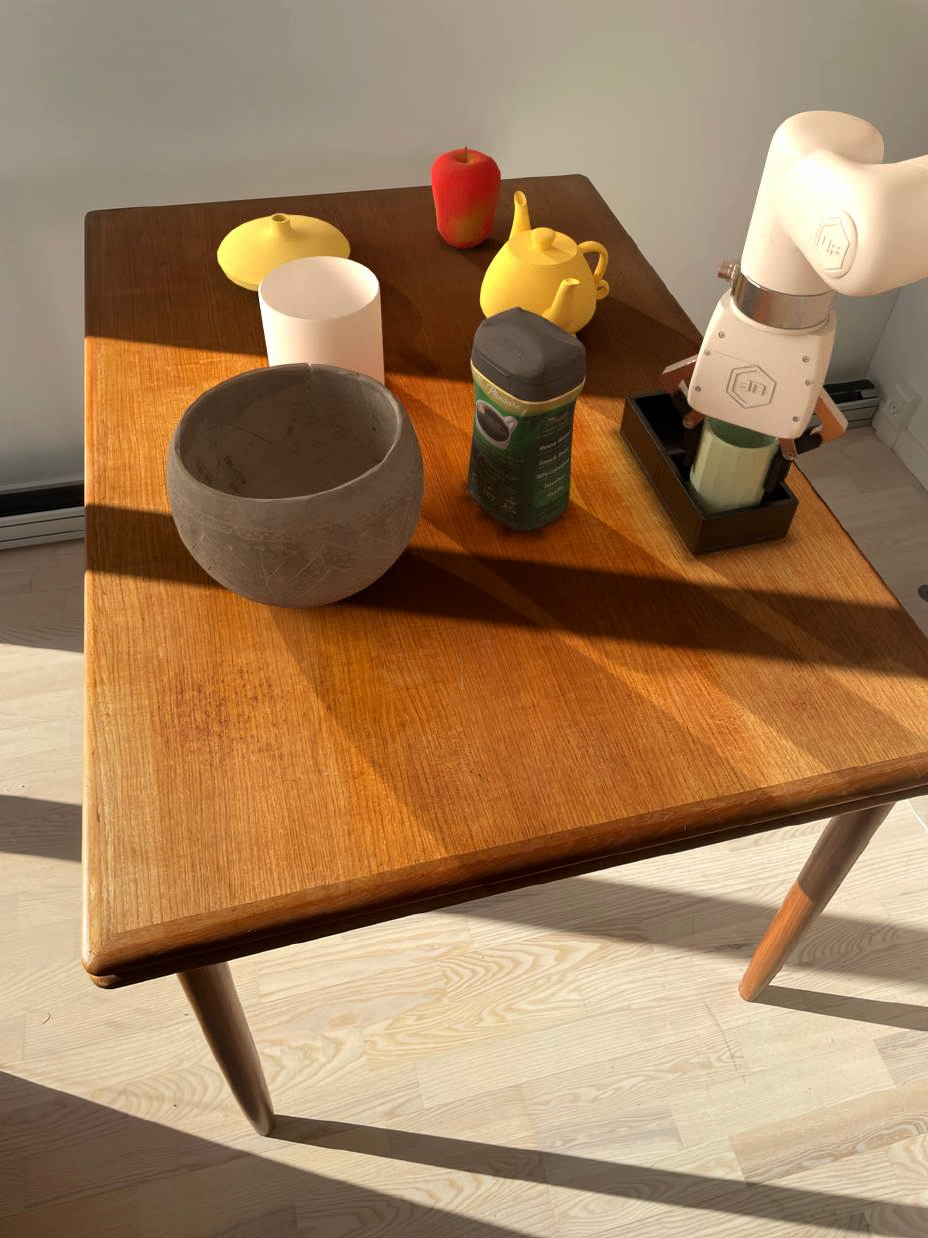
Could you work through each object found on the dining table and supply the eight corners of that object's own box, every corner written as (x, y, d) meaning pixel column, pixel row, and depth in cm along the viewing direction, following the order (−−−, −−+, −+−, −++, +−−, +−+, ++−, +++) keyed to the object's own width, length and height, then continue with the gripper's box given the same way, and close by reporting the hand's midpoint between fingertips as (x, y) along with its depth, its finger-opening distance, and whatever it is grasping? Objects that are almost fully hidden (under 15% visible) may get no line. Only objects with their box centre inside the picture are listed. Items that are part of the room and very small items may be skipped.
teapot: (635, 367, 107) (652, 271, 98) (506, 386, 104) (512, 289, 95) (575, 273, 119) (586, 180, 110) (459, 287, 116) (460, 194, 108)
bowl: (182, 500, 91) (146, 366, 80) (397, 466, 95) (392, 333, 84) (203, 671, 78) (163, 540, 67) (451, 623, 82) (453, 491, 71)
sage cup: (769, 484, 91) (793, 415, 85) (748, 529, 87) (771, 460, 81) (700, 461, 93) (718, 393, 87) (676, 504, 89) (694, 435, 83)
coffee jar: (582, 509, 92) (608, 339, 77) (519, 546, 88) (534, 375, 74) (515, 456, 96) (528, 287, 82) (453, 489, 93) (455, 319, 79)
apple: (511, 242, 124) (516, 148, 115) (461, 263, 120) (462, 168, 111) (467, 216, 128) (469, 123, 119) (417, 235, 124) (416, 141, 115)
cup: (299, 348, 108) (286, 247, 98) (399, 367, 106) (395, 266, 97) (256, 411, 100) (238, 308, 91) (362, 433, 98) (354, 329, 89)
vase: (351, 308, 113) (347, 251, 108) (215, 310, 112) (203, 254, 107) (352, 239, 123) (348, 184, 118) (227, 241, 122) (217, 186, 117)
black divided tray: (785, 538, 90) (799, 501, 86) (692, 556, 88) (703, 519, 84) (703, 418, 101) (712, 381, 97) (619, 432, 99) (625, 395, 96)
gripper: (660, 284, 74) (626, 463, 88) (889, 348, 69) (815, 527, 83) (691, 241, 79) (654, 418, 92) (909, 298, 74) (836, 476, 87)
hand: (731, 468), depth 88 cm, fingers closed on sage cup, 6 cm apart
